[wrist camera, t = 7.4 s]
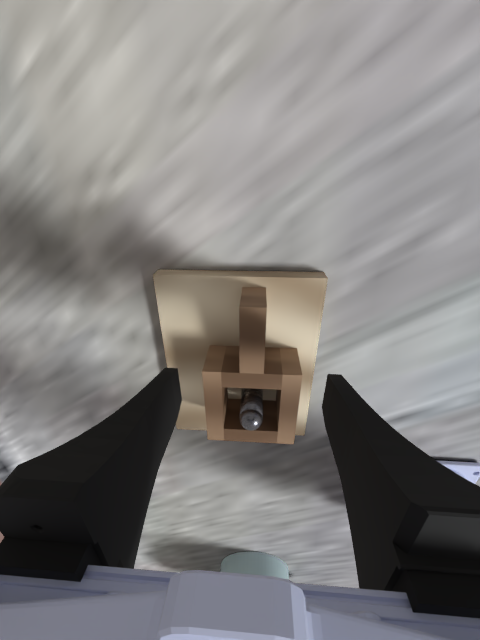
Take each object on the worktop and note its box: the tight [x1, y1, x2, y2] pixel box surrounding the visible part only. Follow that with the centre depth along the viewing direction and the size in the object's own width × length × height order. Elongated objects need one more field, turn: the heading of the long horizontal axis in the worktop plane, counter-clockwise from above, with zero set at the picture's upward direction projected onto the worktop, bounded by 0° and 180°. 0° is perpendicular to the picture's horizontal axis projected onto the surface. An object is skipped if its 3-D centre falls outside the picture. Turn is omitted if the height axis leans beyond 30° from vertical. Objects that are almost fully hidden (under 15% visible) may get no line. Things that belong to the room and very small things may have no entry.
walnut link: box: [202, 287, 303, 444], centre depth 19 cm, size 11×6×3 cm, turn 0°
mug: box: [220, 551, 289, 580], centre depth 34 cm, size 14×9×10 cm
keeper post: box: [239, 388, 263, 431], centre depth 20 cm, size 2×2×4 cm
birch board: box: [153, 269, 328, 436], centre depth 21 cm, size 14×11×1 cm
